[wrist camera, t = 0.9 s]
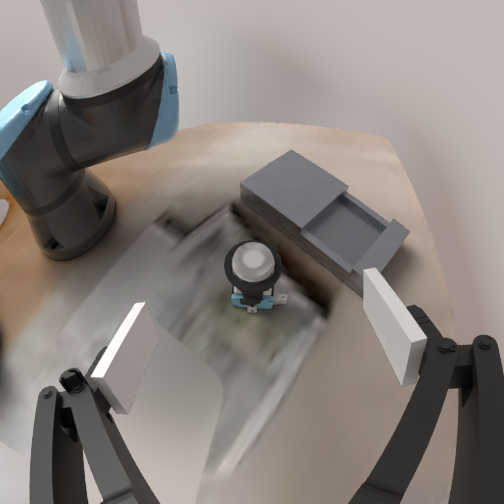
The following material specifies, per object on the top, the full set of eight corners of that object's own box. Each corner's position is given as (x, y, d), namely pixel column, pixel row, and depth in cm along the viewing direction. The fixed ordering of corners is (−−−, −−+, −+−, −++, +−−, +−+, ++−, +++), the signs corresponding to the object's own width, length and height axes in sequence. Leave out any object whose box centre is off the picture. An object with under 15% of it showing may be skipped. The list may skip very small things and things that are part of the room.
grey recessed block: (240, 200, 43) (240, 182, 40) (289, 166, 47) (291, 149, 44) (361, 297, 35) (371, 284, 32) (400, 246, 39) (410, 231, 36)
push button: (286, 283, 36) (297, 236, 28) (285, 324, 33) (298, 288, 25) (232, 280, 36) (226, 232, 28) (228, 320, 34) (220, 283, 25)
